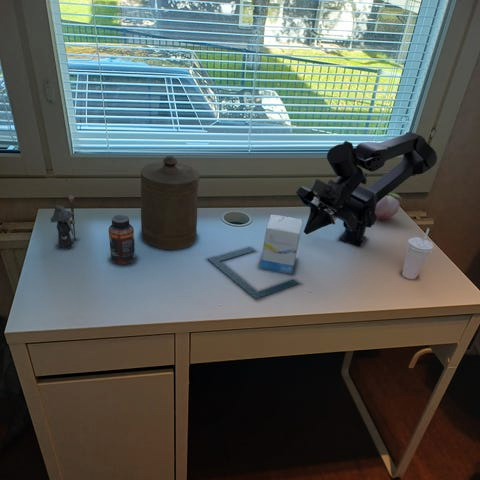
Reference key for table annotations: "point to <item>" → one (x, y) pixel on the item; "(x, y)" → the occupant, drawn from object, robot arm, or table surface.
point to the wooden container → (169, 204)
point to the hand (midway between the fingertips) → (305, 233)
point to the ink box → (281, 243)
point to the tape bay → (240, 282)
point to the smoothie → (416, 255)
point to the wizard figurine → (64, 224)
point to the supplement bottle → (121, 240)
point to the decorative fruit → (387, 206)
